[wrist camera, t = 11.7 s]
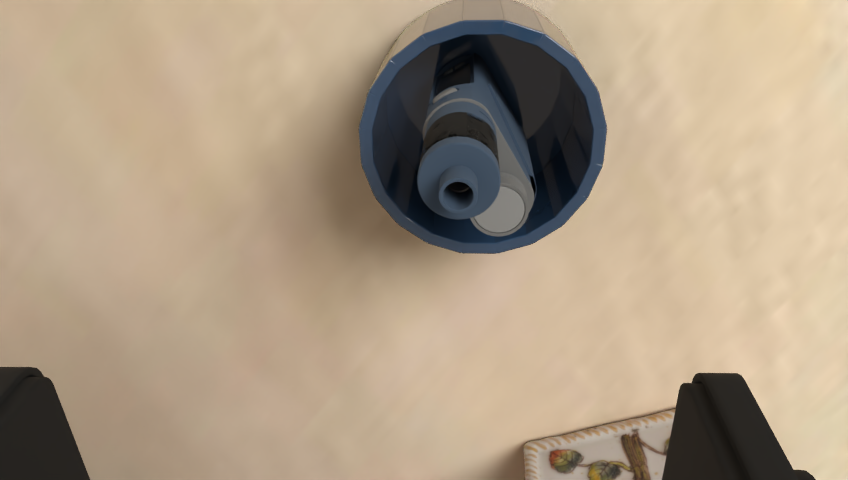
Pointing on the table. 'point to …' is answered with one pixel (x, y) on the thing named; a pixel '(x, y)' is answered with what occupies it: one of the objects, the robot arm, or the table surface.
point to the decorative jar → (604, 451)
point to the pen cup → (524, 92)
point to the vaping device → (475, 151)
